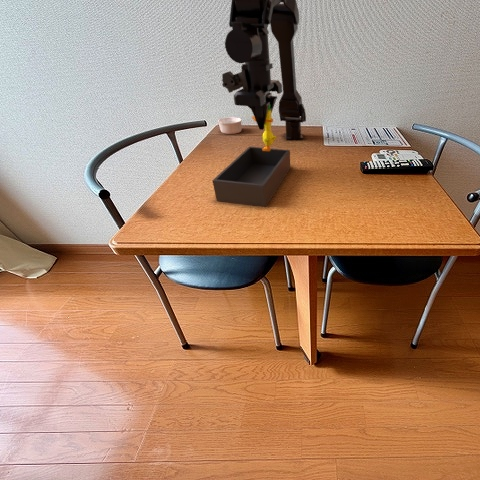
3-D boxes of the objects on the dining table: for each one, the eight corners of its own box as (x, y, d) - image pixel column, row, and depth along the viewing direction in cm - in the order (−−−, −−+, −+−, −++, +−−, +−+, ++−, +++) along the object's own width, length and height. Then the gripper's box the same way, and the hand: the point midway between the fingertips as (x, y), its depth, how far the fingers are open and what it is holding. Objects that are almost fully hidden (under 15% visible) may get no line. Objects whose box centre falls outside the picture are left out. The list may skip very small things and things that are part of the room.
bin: (251, 164, 88) (249, 146, 85) (290, 168, 87) (289, 150, 83) (216, 201, 70) (212, 180, 66) (265, 206, 68) (263, 185, 65)
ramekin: (223, 127, 117) (221, 116, 114) (245, 128, 117) (243, 117, 114) (216, 134, 110) (214, 122, 107) (240, 135, 110) (238, 123, 107)
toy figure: (252, 150, 79) (248, 103, 71) (256, 145, 82) (253, 100, 74) (275, 153, 78) (274, 106, 71) (279, 149, 81) (278, 103, 73)
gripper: (239, 53, 75) (247, 116, 84) (205, 61, 60) (219, 136, 70) (281, 55, 74) (284, 119, 83) (255, 63, 59) (262, 140, 68)
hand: (263, 127), depth 76 cm, fingers closed on toy figure, 2 cm apart
